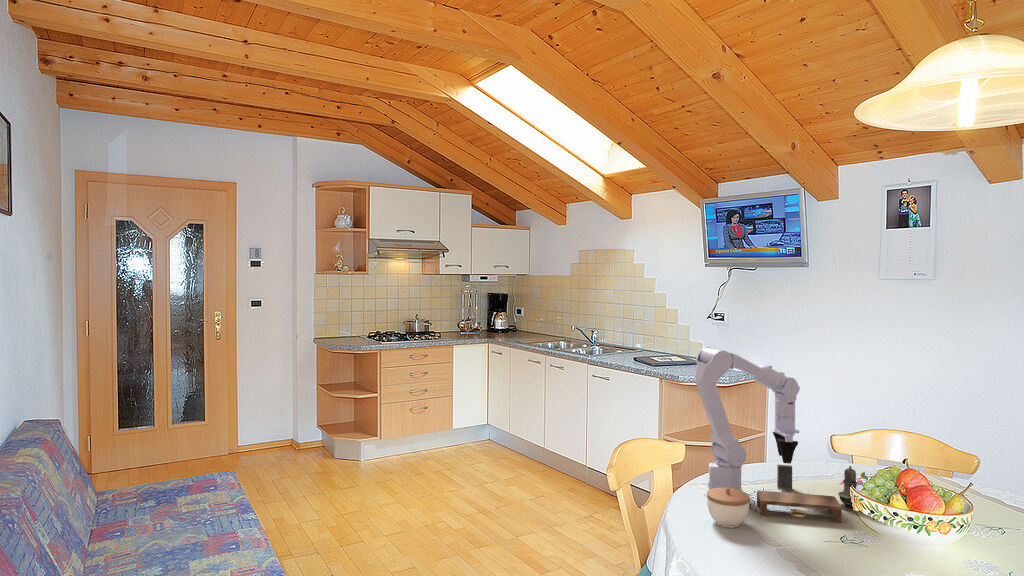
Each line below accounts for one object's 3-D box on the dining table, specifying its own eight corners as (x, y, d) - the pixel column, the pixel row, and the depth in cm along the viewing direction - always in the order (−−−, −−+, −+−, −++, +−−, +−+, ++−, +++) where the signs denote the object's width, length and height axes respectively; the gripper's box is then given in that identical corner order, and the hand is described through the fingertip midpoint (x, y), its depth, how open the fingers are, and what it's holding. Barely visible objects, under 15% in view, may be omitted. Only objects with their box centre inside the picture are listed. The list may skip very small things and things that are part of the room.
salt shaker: (866, 511, 171) (866, 468, 170) (844, 511, 171) (845, 468, 170) (854, 503, 177) (855, 462, 176) (834, 504, 177) (834, 462, 176)
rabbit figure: (866, 488, 193) (831, 487, 187) (868, 469, 193) (834, 467, 188) (884, 495, 187) (850, 494, 182) (887, 475, 187) (852, 473, 182)
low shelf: (760, 516, 168) (760, 500, 168) (756, 505, 176) (756, 490, 176) (841, 523, 163) (841, 506, 163) (833, 511, 171) (834, 496, 171)
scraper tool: (783, 504, 176) (783, 480, 176) (775, 486, 191) (775, 464, 191) (802, 506, 175) (803, 481, 175) (793, 488, 190) (793, 465, 190)
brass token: (791, 518, 167) (791, 514, 167) (789, 512, 171) (789, 508, 171) (807, 519, 166) (807, 515, 166) (804, 514, 170) (804, 509, 170)
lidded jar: (753, 533, 158) (753, 496, 157) (709, 530, 160) (709, 494, 160) (745, 516, 168) (745, 482, 168) (704, 514, 170) (704, 480, 170)
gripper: (803, 421, 181) (803, 467, 181) (794, 410, 195) (794, 453, 195) (778, 420, 183) (778, 465, 183) (770, 409, 197) (770, 451, 197)
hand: (784, 459), depth 189 cm, fingers open, 7 cm apart
